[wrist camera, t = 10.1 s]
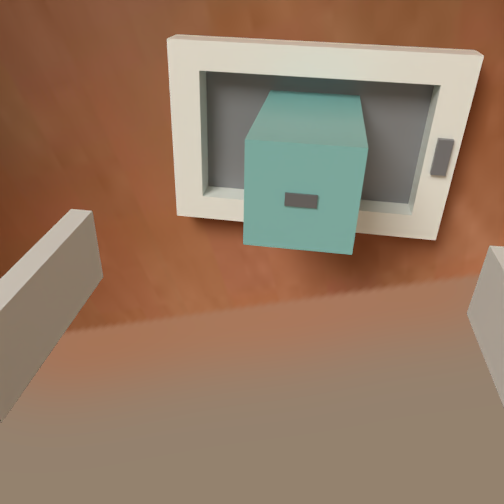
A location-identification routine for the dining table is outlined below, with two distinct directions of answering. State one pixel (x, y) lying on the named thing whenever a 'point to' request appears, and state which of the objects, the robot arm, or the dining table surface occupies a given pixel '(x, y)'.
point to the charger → (305, 172)
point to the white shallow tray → (330, 82)
